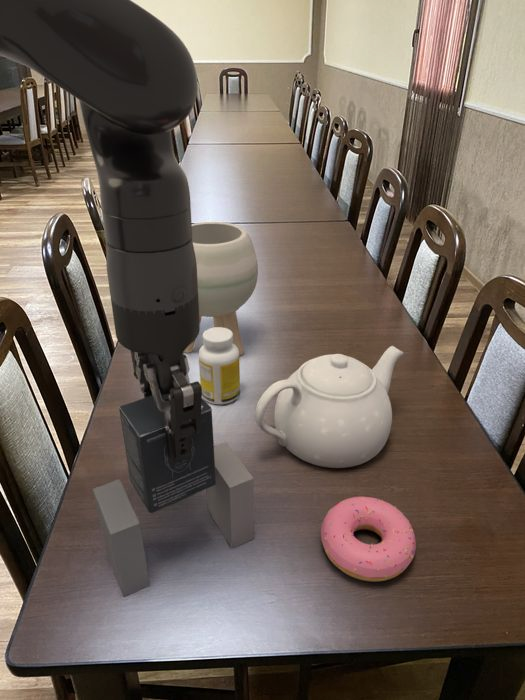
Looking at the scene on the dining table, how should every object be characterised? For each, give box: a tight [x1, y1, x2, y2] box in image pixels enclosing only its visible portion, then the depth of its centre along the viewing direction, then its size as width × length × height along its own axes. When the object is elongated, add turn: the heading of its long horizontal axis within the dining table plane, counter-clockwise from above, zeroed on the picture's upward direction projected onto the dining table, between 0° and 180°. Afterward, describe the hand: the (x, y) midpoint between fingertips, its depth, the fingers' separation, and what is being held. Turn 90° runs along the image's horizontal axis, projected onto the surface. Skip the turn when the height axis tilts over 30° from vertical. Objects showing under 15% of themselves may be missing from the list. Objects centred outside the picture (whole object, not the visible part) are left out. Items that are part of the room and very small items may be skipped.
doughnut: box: [320, 494, 417, 583], centre depth 62 cm, size 11×11×4 cm
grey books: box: [92, 441, 255, 597], centre depth 61 cm, size 16×7×10 cm, turn 119°
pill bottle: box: [198, 327, 241, 405], centre depth 87 cm, size 6×6×12 cm
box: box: [118, 393, 216, 514], centre depth 56 cm, size 8×6×11 cm
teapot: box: [254, 345, 405, 469], centre depth 78 cm, size 19×18×14 cm
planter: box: [183, 221, 259, 356], centre depth 97 cm, size 16×16×22 cm
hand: (168, 437), depth 55 cm, fingers closed on box, 5 cm apart
